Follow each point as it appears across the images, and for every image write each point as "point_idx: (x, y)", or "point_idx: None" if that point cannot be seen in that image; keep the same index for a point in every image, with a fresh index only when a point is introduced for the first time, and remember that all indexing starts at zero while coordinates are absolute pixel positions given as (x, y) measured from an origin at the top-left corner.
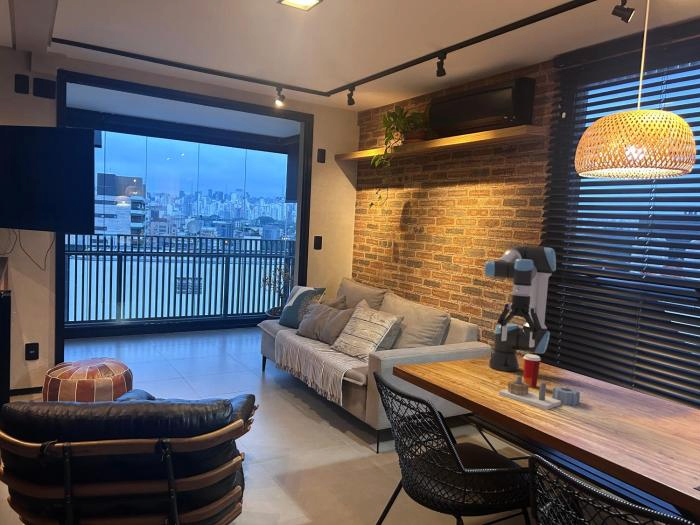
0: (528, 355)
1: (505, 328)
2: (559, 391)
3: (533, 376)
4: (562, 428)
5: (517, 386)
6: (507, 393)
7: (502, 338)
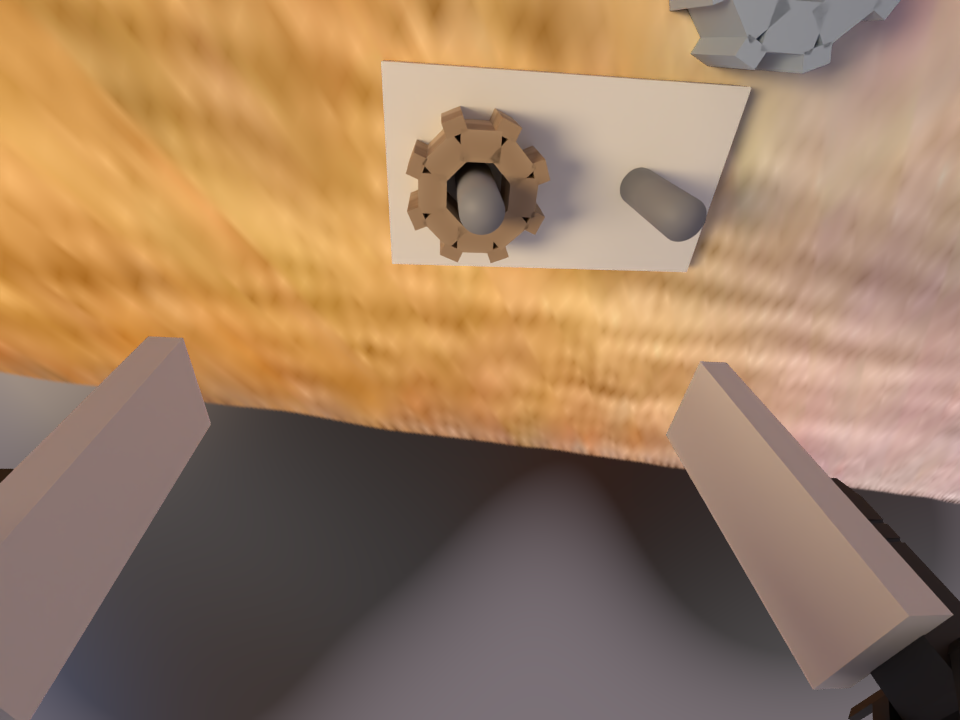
0: None
1: (39, 613)
2: (764, 52)
3: None
4: None
5: (501, 257)
6: (447, 261)
7: (183, 454)
